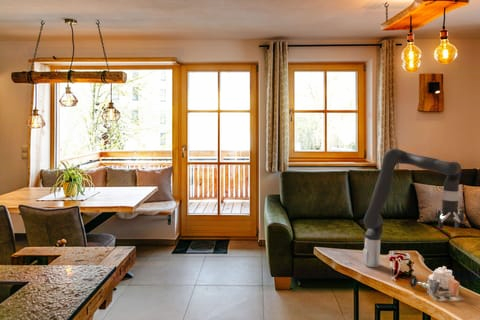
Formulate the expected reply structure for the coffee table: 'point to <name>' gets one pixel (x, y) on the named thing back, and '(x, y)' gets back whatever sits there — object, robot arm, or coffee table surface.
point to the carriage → (454, 287)
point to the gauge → (442, 293)
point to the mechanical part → (442, 277)
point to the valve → (420, 283)
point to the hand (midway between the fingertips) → (448, 228)
